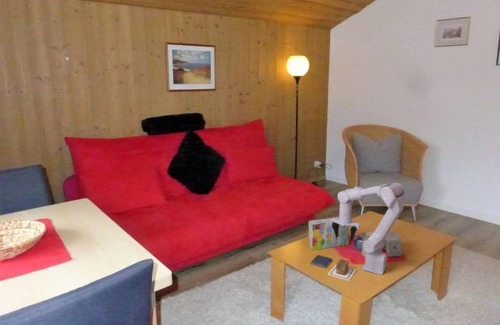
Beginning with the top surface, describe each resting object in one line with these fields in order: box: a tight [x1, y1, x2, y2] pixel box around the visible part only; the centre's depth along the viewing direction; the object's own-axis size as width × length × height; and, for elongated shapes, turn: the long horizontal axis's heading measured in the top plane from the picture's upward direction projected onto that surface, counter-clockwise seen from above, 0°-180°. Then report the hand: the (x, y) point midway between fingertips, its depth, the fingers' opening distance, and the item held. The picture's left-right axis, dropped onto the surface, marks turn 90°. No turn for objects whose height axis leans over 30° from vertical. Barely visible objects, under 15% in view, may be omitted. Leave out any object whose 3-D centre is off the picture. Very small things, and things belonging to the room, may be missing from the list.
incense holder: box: [382, 230, 403, 258], centre depth 189 cm, size 10×8×10 cm
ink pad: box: [309, 254, 333, 269], centre depth 183 cm, size 8×9×1 cm
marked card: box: [327, 264, 357, 282], centre depth 173 cm, size 10×11×1 cm
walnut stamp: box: [335, 258, 349, 275], centre depth 172 cm, size 4×5×5 cm
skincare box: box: [361, 230, 375, 257], centre depth 187 cm, size 6×4×12 cm
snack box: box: [308, 216, 350, 251], centre depth 198 cm, size 21×6×15 cm, turn 104°
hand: (344, 238), depth 186 cm, fingers open, 7 cm apart
